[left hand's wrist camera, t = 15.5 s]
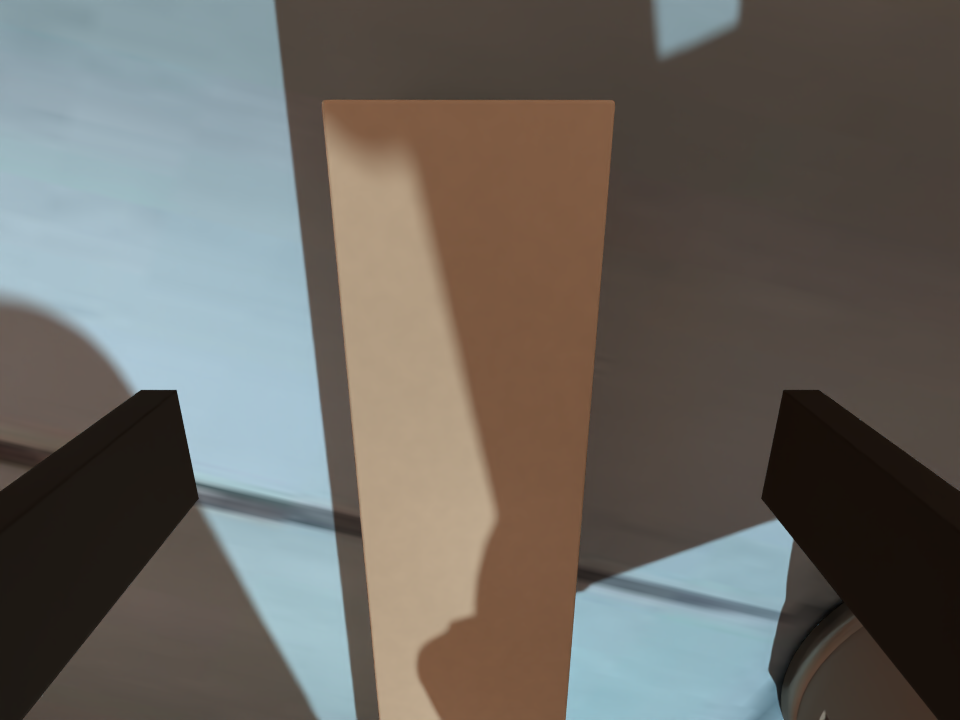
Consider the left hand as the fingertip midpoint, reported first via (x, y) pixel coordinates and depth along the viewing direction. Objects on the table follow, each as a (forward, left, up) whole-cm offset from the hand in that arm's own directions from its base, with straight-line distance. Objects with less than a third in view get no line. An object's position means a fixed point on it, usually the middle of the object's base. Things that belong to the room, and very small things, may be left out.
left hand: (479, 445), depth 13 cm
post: (+25, +18, -10) cm, 33 cm away
